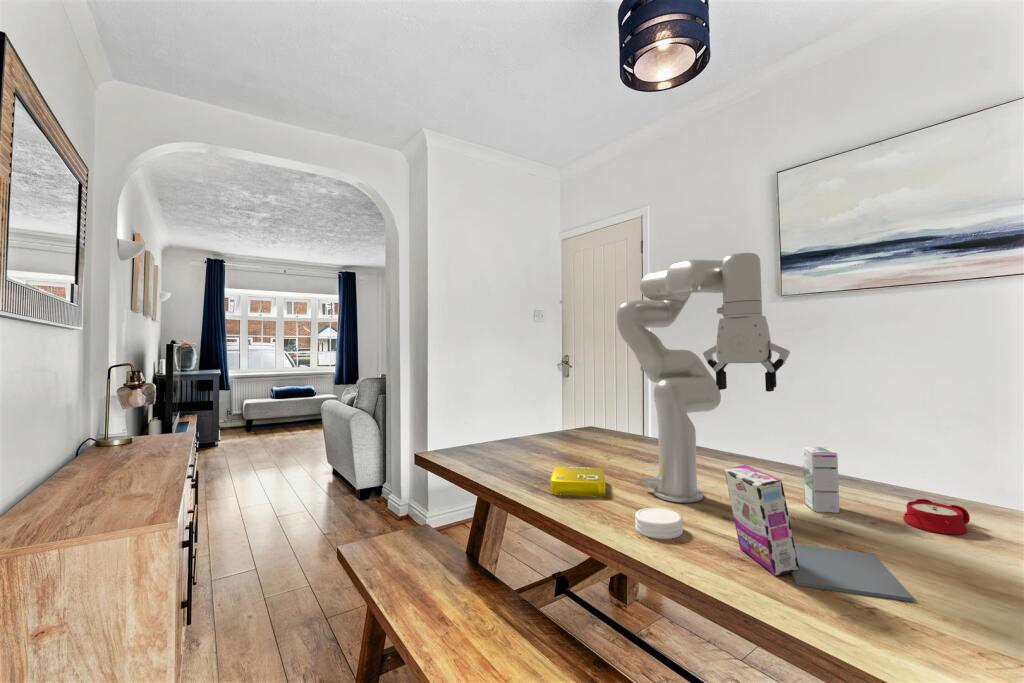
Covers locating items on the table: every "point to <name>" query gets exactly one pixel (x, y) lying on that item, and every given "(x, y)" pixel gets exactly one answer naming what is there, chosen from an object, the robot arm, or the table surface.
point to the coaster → (658, 523)
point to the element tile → (578, 481)
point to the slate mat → (846, 573)
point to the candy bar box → (762, 519)
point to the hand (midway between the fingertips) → (745, 390)
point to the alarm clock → (936, 517)
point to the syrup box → (821, 479)
